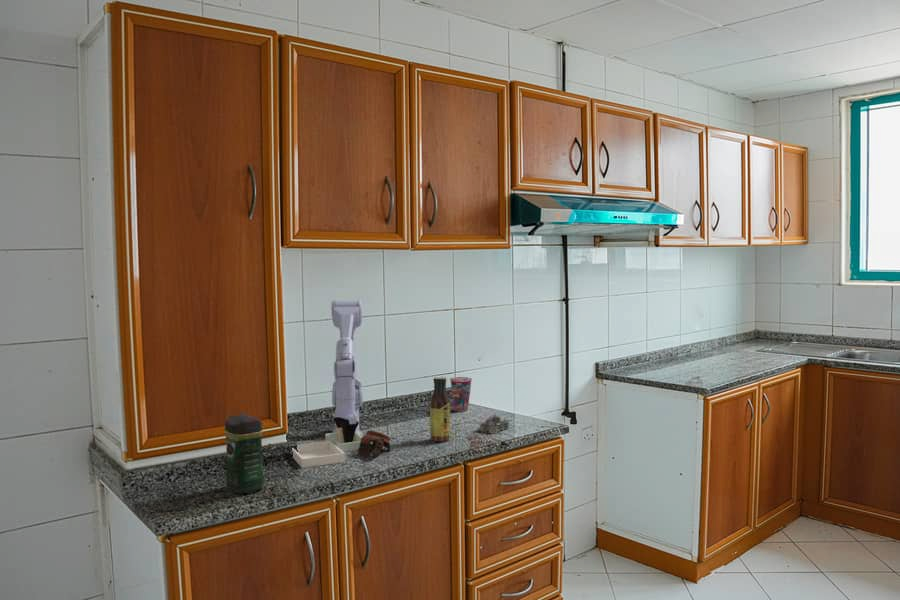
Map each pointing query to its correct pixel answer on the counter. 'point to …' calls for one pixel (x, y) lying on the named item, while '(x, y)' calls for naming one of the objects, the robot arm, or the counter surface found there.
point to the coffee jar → (243, 454)
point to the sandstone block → (341, 436)
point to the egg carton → (493, 424)
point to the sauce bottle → (440, 412)
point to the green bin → (344, 446)
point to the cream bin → (318, 454)
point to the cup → (460, 393)
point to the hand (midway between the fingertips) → (346, 442)
